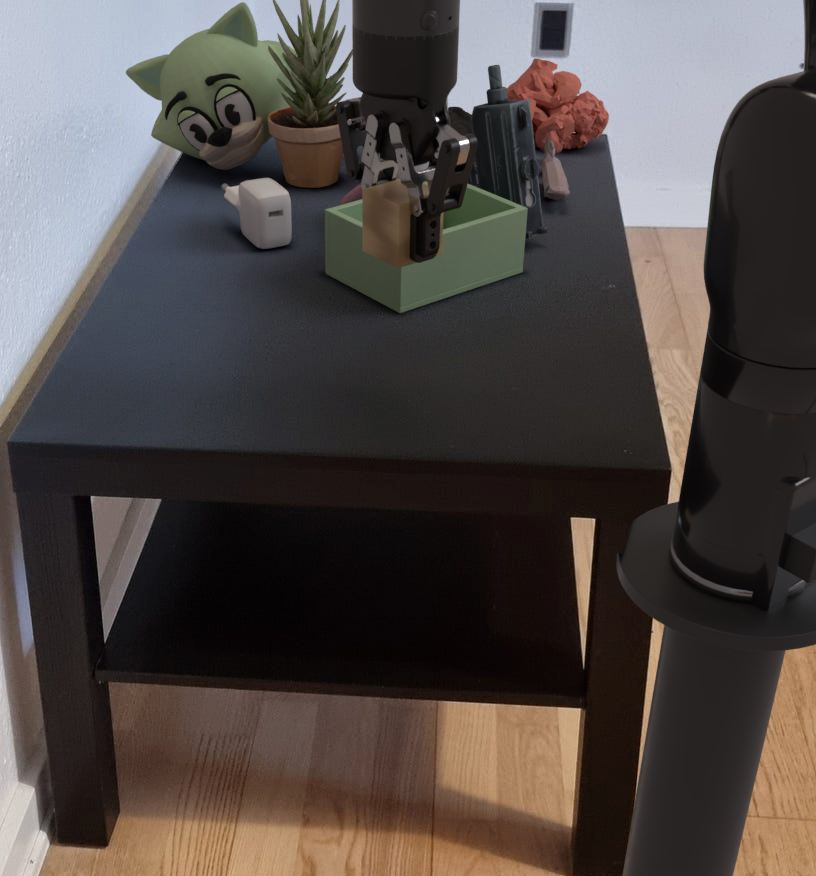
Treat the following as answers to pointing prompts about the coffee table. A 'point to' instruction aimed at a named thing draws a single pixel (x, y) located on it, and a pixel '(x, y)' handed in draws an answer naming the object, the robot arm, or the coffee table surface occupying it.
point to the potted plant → (309, 100)
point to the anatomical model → (559, 107)
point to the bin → (455, 271)
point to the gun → (507, 151)
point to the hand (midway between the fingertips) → (401, 248)
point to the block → (389, 223)
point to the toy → (217, 90)
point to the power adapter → (262, 211)
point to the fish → (553, 174)
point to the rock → (460, 120)
